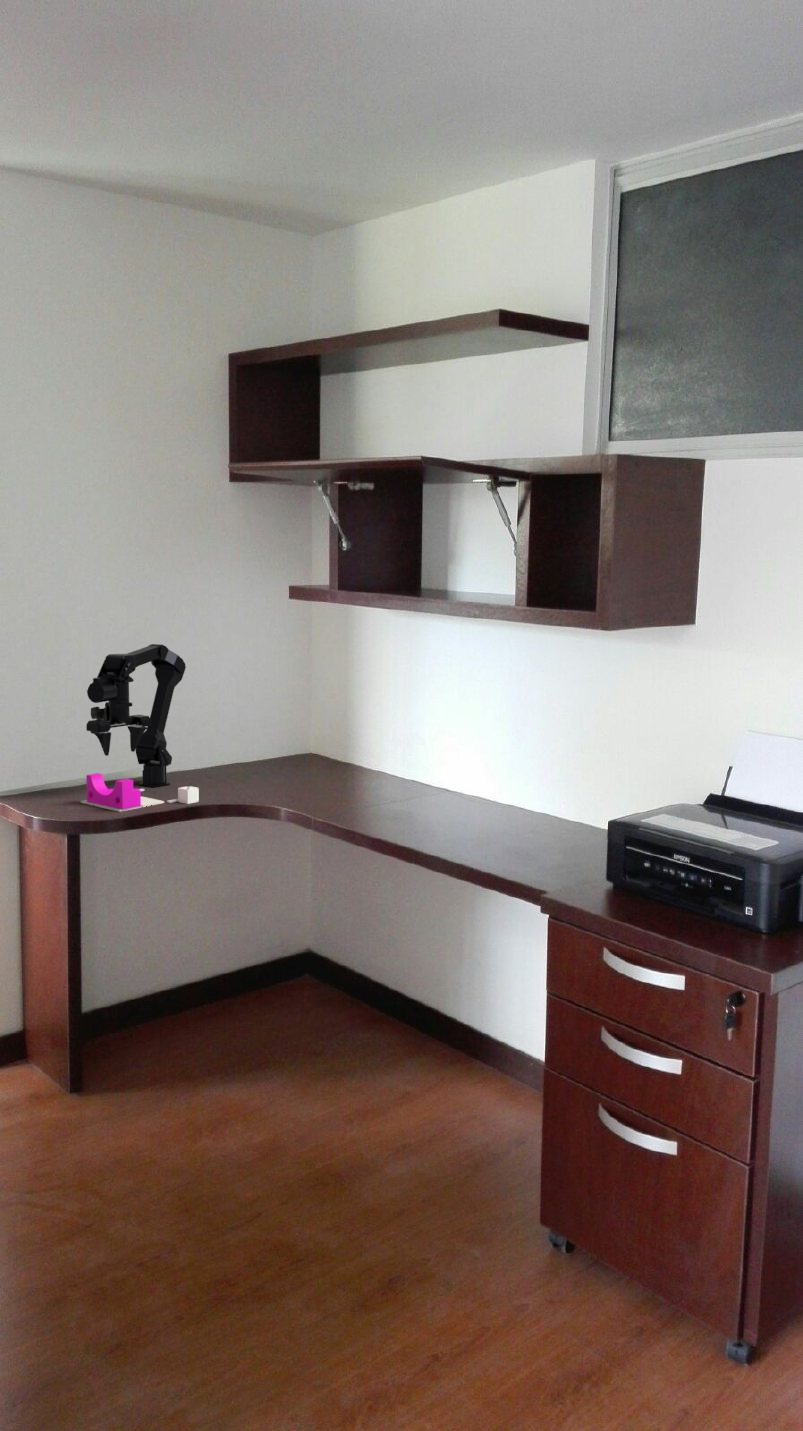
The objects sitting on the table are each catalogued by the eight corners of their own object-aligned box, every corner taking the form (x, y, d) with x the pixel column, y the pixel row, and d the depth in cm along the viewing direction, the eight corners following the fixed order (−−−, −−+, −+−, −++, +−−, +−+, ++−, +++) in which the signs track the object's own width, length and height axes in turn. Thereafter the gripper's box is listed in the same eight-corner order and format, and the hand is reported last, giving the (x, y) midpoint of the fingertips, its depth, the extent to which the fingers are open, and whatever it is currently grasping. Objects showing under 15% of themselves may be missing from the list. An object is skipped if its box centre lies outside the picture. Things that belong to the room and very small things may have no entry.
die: (189, 799, 334) (188, 785, 333) (198, 801, 331) (198, 787, 331) (178, 802, 331) (178, 787, 330) (187, 804, 328) (187, 789, 328)
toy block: (140, 806, 322) (140, 778, 321) (122, 809, 317) (122, 782, 316) (105, 798, 331) (104, 771, 330) (86, 801, 326) (86, 775, 325)
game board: (142, 790, 345) (142, 788, 345) (186, 799, 334) (186, 797, 333) (78, 802, 328) (78, 800, 328) (122, 812, 316) (122, 810, 316)
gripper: (127, 693, 347) (127, 746, 349) (73, 699, 332) (74, 754, 334) (151, 697, 340) (152, 750, 342) (98, 703, 325) (99, 759, 328)
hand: (119, 753), depth 337 cm, fingers open, 9 cm apart
